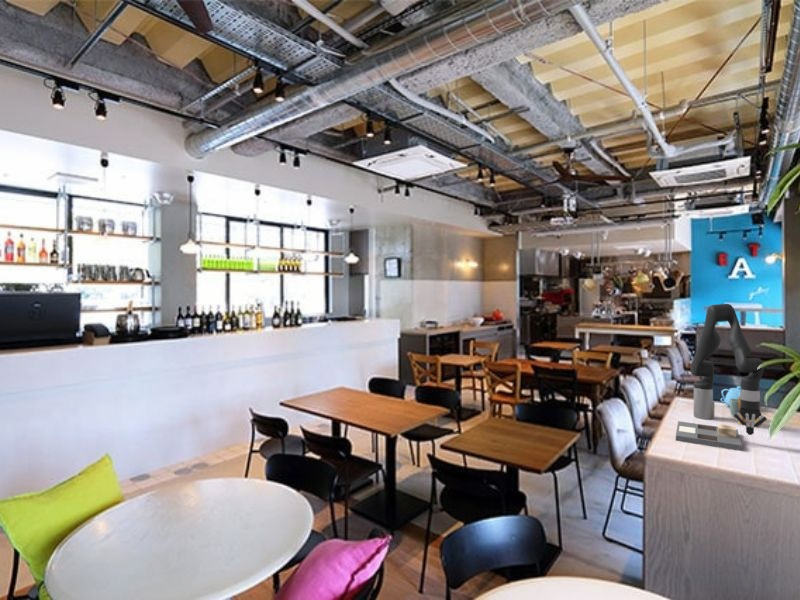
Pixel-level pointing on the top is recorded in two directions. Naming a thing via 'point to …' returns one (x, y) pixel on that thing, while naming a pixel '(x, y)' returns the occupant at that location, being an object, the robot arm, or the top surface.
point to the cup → (733, 406)
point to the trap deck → (706, 436)
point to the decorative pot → (731, 394)
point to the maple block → (726, 431)
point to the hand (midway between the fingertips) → (749, 434)
